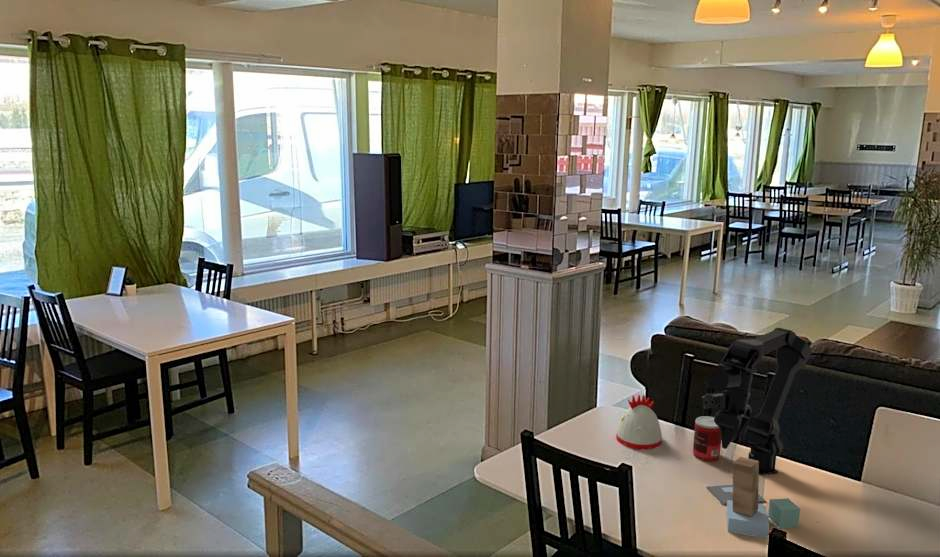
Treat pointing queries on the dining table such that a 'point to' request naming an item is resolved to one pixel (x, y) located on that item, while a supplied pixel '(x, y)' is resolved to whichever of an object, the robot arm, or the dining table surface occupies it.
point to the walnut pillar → (745, 486)
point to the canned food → (706, 439)
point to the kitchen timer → (639, 426)
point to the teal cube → (784, 513)
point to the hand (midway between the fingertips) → (728, 444)
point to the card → (726, 493)
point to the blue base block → (748, 521)
